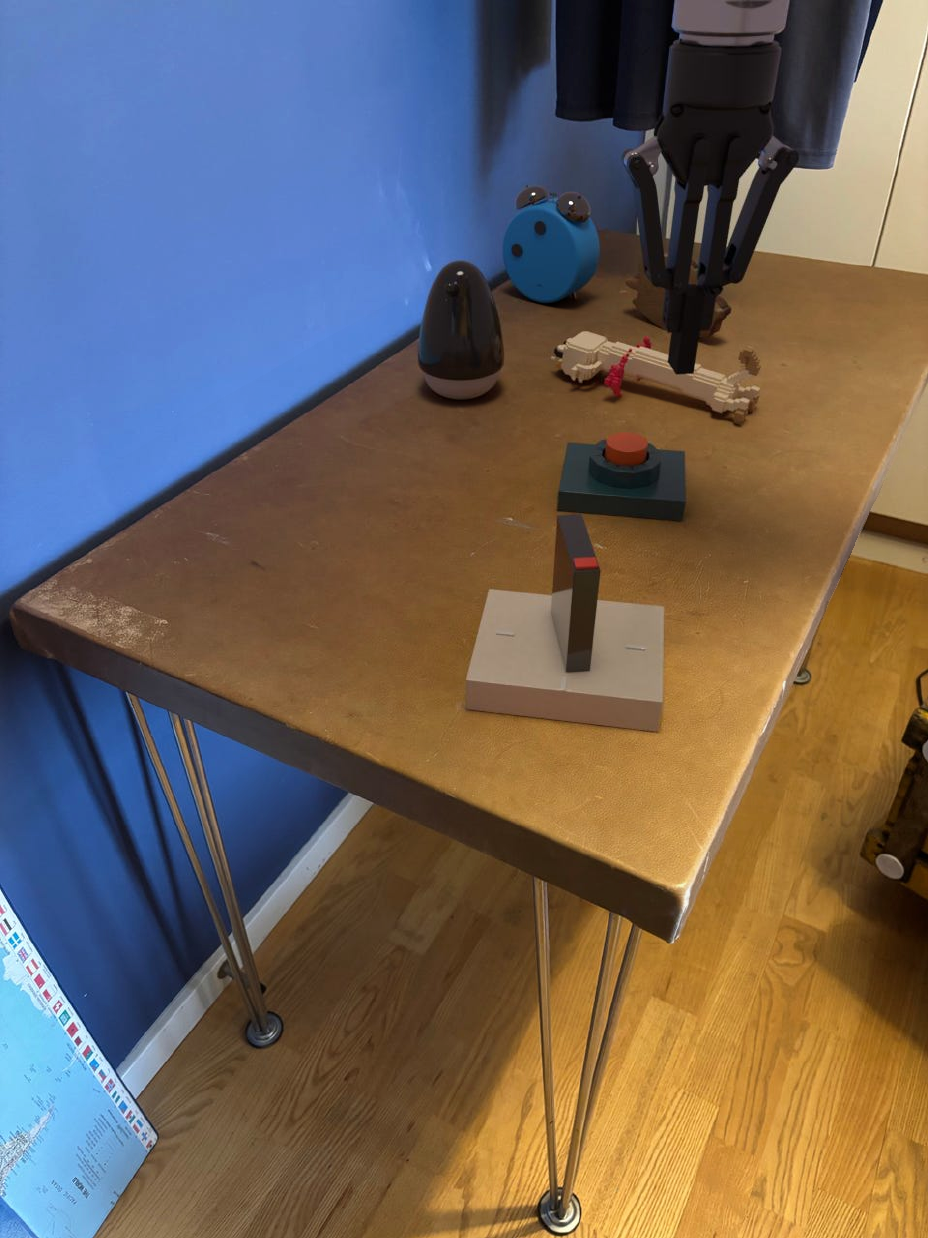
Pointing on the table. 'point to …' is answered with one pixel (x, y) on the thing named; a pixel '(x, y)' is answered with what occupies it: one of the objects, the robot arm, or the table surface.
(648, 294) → the wooden carving
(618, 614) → the plate
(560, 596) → the tap handle
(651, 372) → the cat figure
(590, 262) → the alarm clock
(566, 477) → the button block
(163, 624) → the table surface
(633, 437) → the button
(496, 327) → the dark egg shaped device
